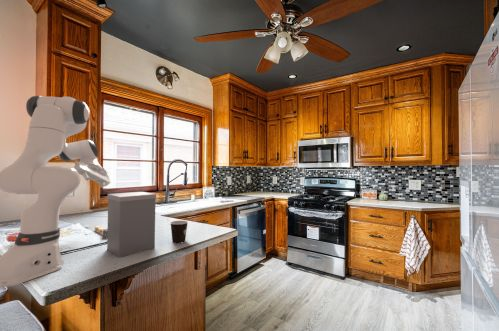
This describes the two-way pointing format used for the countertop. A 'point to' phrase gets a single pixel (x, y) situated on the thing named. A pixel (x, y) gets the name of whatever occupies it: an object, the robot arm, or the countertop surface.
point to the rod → (101, 230)
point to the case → (131, 223)
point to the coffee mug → (178, 231)
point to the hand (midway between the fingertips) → (95, 183)
